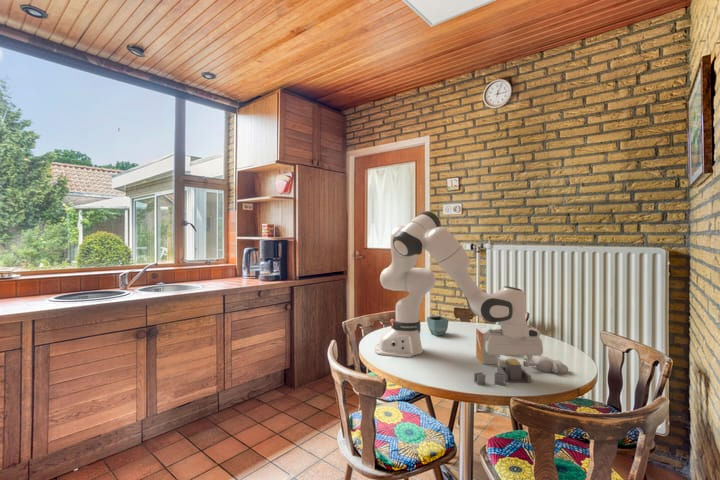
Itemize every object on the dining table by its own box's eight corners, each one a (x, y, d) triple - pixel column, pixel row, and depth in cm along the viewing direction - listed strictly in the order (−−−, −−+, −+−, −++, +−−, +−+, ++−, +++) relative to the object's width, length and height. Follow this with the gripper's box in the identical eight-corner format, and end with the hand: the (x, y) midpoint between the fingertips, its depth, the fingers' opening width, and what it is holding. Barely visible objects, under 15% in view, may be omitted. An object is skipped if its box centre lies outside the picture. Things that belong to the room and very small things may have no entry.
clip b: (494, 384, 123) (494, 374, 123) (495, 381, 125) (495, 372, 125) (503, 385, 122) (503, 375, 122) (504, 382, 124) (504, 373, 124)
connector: (510, 379, 127) (510, 362, 127) (505, 373, 132) (505, 358, 132) (521, 379, 126) (521, 363, 126) (516, 374, 131) (516, 358, 131)
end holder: (505, 382, 125) (505, 375, 125) (497, 372, 134) (497, 366, 134) (530, 382, 124) (530, 376, 124) (521, 373, 133) (521, 366, 133)
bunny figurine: (571, 366, 129) (528, 358, 133) (569, 380, 129) (526, 371, 133) (563, 358, 138) (523, 350, 142) (562, 370, 139) (522, 362, 143)
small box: (475, 357, 151) (475, 328, 151) (490, 357, 151) (490, 328, 151) (482, 364, 143) (482, 333, 143) (497, 364, 143) (497, 333, 143)
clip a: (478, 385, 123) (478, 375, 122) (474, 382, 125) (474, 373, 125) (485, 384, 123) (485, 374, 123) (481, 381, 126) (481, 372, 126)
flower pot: (426, 333, 190) (426, 317, 190) (440, 331, 192) (440, 315, 192) (434, 337, 181) (434, 320, 181) (449, 336, 184) (448, 319, 184)
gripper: (487, 331, 127) (487, 368, 127) (544, 332, 125) (544, 370, 125) (482, 327, 133) (482, 362, 133) (537, 327, 131) (537, 363, 131)
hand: (513, 366), depth 129 cm, fingers open, 8 cm apart
